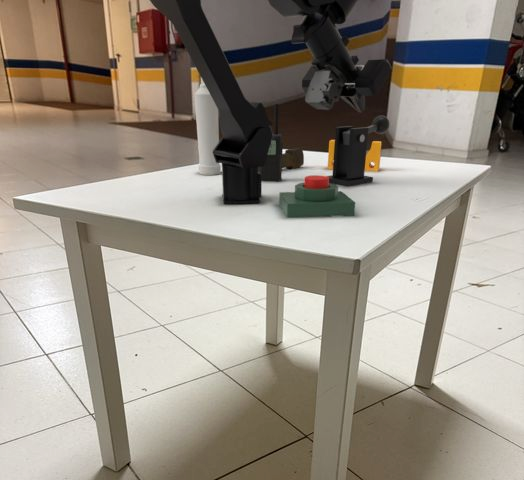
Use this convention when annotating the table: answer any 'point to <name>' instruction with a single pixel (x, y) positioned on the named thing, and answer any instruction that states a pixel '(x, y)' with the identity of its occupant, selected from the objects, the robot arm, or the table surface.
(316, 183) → the button
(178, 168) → the table surface
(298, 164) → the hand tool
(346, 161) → the bracket
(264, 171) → the walkie-talkie
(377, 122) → the lever
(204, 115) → the bottle
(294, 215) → the button box
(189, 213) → the table surface
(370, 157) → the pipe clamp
